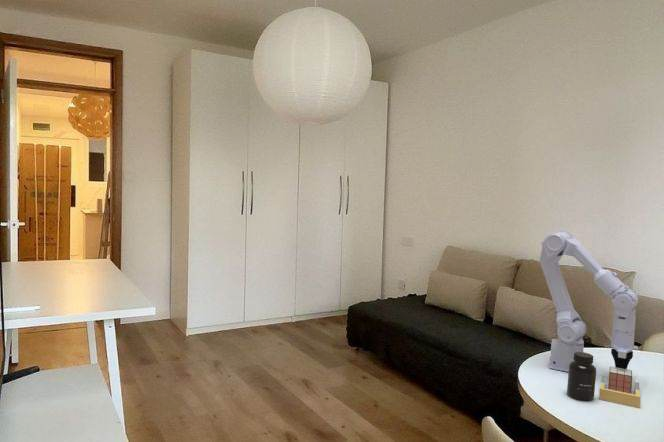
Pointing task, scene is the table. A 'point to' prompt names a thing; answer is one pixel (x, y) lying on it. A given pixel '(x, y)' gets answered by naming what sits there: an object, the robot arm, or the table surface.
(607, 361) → the table surface
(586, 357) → the supplement bottle
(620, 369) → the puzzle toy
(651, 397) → the table surface
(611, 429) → the table surface
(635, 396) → the tube holder
